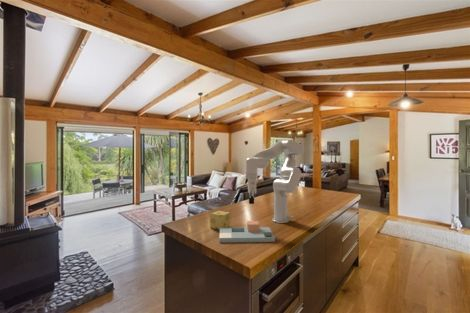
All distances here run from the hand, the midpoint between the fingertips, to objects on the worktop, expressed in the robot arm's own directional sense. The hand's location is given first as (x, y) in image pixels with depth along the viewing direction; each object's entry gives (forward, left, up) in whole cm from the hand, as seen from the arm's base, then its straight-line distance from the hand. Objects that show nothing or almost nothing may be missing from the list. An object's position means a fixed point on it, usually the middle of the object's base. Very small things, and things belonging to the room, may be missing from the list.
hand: (251, 203), depth 156 cm
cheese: (+21, -5, -17) cm, 28 cm away
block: (0, +9, -15) cm, 17 cm away
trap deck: (+5, +13, -17) cm, 22 cm away
